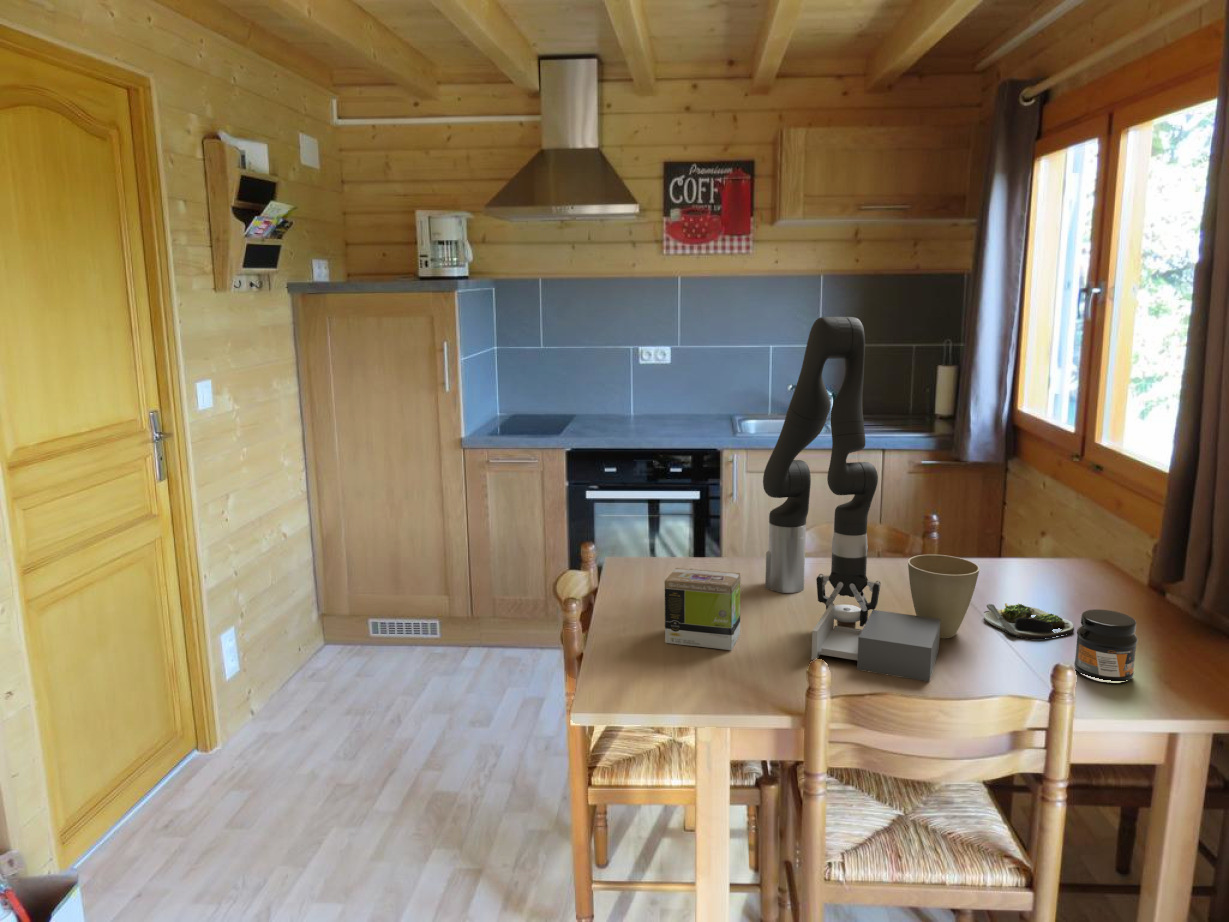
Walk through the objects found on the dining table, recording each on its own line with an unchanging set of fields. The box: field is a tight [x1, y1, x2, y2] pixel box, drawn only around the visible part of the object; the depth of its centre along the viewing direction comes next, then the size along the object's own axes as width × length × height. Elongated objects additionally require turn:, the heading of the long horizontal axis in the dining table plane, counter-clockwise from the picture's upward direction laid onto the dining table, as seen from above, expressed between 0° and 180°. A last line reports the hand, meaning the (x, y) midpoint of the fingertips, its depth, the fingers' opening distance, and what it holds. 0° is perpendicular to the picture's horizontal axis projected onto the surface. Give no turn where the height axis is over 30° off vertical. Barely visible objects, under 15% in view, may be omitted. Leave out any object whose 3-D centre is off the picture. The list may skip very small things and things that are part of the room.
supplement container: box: [1073, 608, 1138, 681], centre depth 180 cm, size 10×10×12 cm
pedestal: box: [836, 620, 857, 629], centre depth 204 cm, size 4×4×4 cm
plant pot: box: [907, 554, 980, 639], centre depth 202 cm, size 15×15×16 cm
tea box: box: [664, 567, 741, 651], centre depth 199 cm, size 15×10×15 cm
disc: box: [834, 604, 861, 623], centre depth 203 cm, size 6×6×2 cm
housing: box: [856, 609, 941, 682], centre depth 188 cm, size 14×17×7 cm
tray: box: [811, 603, 863, 661], centre depth 192 cm, size 14×17×6 cm
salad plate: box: [984, 603, 1075, 640], centre depth 208 cm, size 19×18×5 cm
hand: (846, 622), depth 204 cm, fingers closed on disc, 6 cm apart
